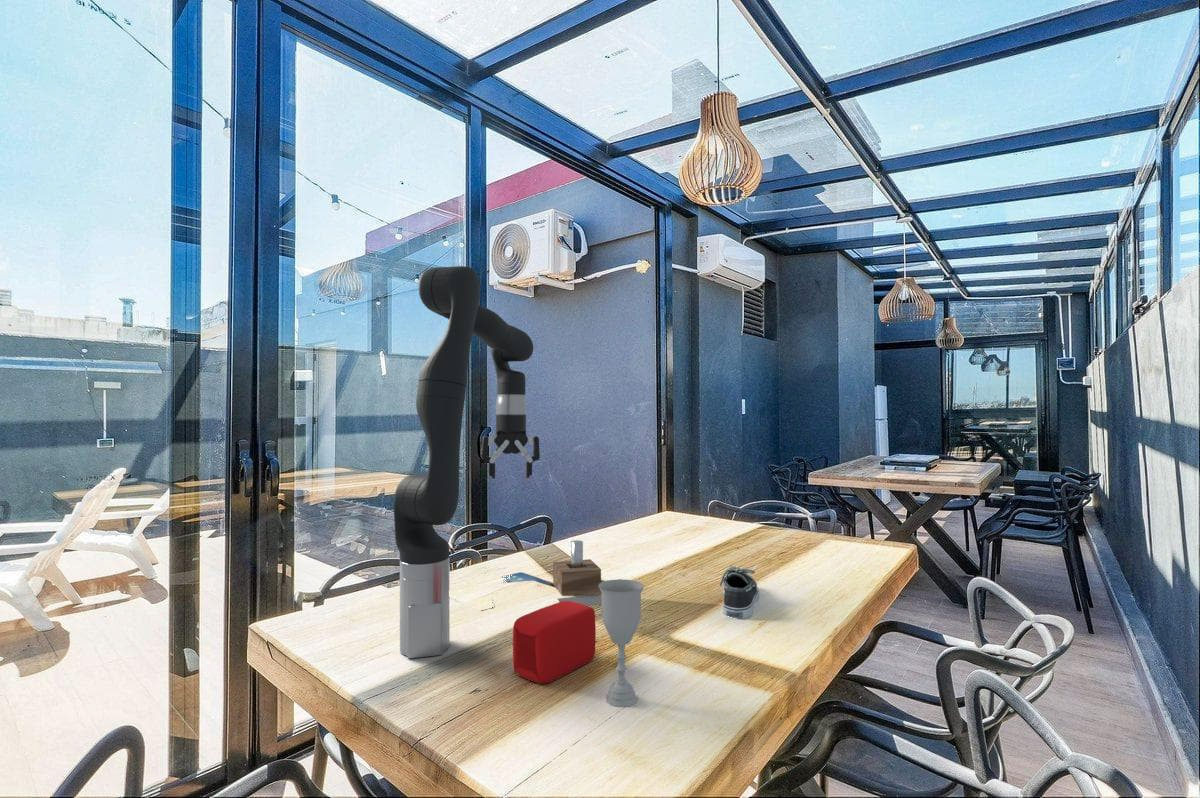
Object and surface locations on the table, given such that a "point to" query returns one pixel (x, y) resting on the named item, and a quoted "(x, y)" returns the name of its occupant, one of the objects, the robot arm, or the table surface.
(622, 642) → the chalice
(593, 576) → the socket block
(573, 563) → the pin
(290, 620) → the table surface
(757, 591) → the boat shoe
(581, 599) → the mat
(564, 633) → the decorative item
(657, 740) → the table surface
